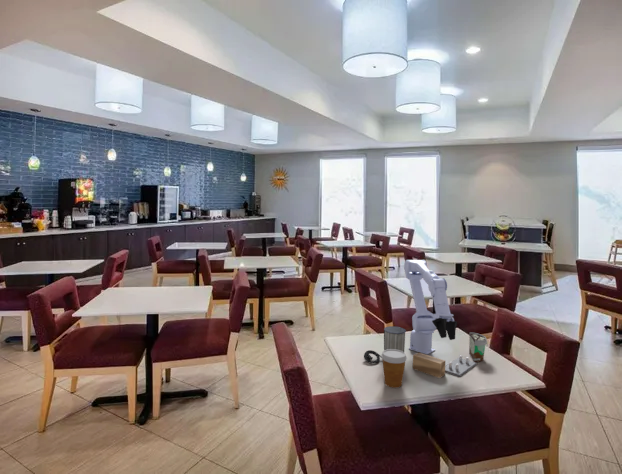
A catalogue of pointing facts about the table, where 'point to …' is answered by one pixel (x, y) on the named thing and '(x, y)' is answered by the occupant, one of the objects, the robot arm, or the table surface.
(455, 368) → the peg plate
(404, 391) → the table surface
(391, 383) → the disposable coffee cup
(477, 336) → the food container
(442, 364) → the shelf block
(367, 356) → the milk frother
